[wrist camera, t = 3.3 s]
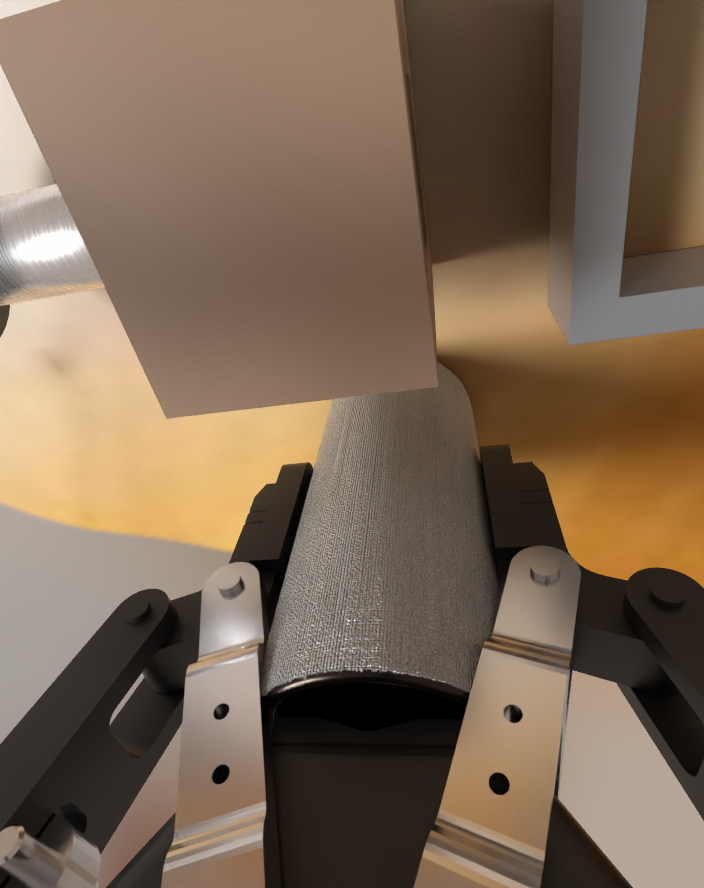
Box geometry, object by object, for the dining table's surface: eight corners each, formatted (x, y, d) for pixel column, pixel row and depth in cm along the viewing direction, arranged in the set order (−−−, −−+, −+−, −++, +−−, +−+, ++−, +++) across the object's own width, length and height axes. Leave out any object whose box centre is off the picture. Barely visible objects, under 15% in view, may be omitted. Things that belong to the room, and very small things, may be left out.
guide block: (181, 45, 12) (-18, 25, 6) (401, -15, 11) (382, -99, 5) (257, 294, 15) (166, 418, 10) (432, 266, 14) (438, 386, 9)
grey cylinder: (454, 333, 15) (493, 660, 7) (485, 454, 17) (544, 807, 9) (310, 373, 16) (194, 689, 8) (358, 481, 19) (307, 812, 10)
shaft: (-112, 165, 12) (-308, 200, 9) (277, 66, 10) (210, 65, 7) (-11, 326, 14) (-138, 402, 11) (323, 271, 12) (288, 341, 9)
